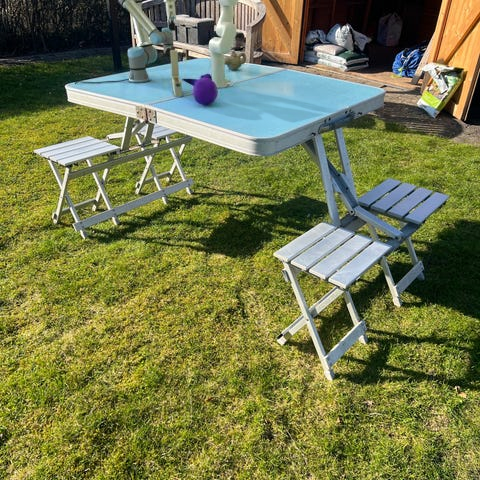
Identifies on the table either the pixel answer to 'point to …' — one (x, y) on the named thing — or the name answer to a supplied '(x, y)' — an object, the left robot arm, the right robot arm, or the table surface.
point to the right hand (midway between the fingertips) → (172, 29)
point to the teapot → (235, 60)
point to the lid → (174, 62)
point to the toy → (204, 89)
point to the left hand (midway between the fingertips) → (172, 57)
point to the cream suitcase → (177, 86)
